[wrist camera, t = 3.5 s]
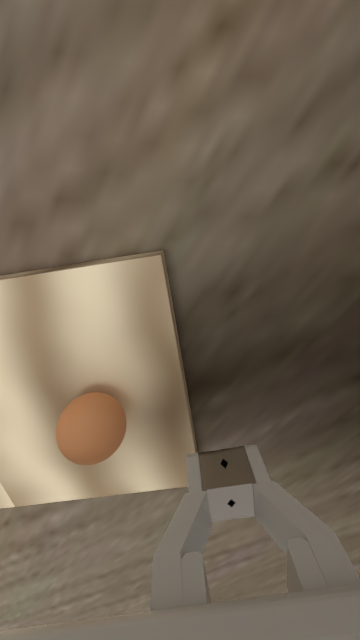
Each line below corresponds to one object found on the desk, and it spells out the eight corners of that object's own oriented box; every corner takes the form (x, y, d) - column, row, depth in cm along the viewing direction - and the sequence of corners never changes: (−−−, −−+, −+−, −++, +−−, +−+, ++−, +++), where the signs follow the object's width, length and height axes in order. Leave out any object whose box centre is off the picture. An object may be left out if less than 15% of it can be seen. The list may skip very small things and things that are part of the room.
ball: (124, 375, 14) (108, 421, 10) (137, 422, 15) (126, 477, 12) (64, 383, 14) (29, 432, 11) (82, 429, 15) (56, 485, 12)
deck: (163, 249, 14) (157, 260, 9) (198, 453, 19) (203, 516, 15) (-197, 306, 15) (-347, 339, 10) (-62, 485, 20) (-124, 553, 16)
